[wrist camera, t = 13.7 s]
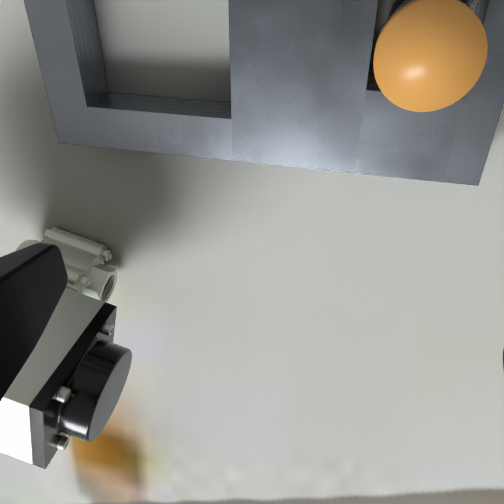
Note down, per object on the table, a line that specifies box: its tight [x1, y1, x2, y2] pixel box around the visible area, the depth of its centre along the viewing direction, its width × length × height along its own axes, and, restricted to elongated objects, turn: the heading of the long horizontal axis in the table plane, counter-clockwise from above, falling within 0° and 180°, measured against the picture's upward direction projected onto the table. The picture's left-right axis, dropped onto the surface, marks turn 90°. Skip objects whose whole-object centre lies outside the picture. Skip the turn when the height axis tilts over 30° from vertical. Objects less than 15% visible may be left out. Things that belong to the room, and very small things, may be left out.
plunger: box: [373, 0, 488, 112], centre depth 16 cm, size 3×3×4 cm
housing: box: [24, 0, 504, 186], centre depth 18 cm, size 18×10×2 cm, turn 90°
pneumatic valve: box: [0, 227, 132, 469], centre depth 24 cm, size 6×12×12 cm, turn 75°
